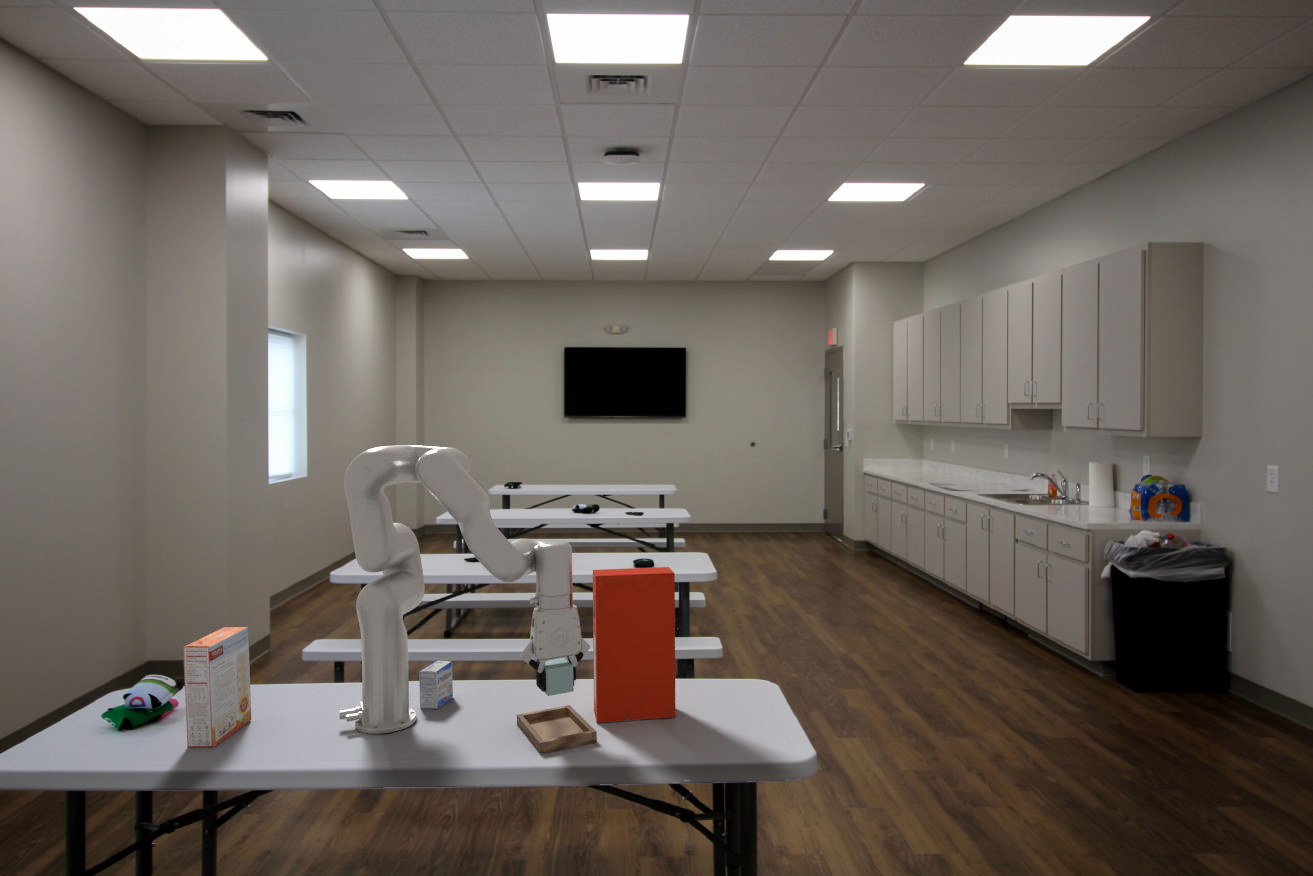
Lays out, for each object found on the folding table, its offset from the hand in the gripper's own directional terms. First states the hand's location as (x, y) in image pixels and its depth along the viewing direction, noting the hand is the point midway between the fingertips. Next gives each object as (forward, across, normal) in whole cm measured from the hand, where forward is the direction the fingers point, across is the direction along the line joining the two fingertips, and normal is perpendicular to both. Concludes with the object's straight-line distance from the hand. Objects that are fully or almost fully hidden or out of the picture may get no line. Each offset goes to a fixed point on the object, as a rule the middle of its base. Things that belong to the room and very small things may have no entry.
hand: (556, 686), depth 160 cm
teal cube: (+1, 0, 0) cm, 1 cm away
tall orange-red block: (+10, +19, +2) cm, 22 cm away
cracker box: (+9, -63, +32) cm, 72 cm away
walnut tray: (+10, 0, 0) cm, 10 cm away
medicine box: (+10, -19, +29) cm, 36 cm away
